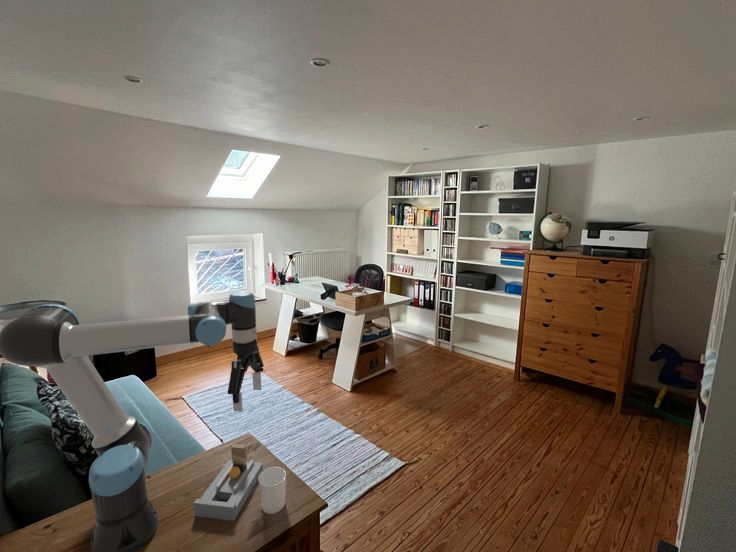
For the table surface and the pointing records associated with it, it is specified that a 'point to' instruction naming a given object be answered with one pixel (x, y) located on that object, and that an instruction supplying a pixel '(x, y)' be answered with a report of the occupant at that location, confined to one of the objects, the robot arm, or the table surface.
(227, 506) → the board
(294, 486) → the table surface
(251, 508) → the table surface
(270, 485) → the white cup
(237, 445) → the tan block
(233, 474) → the ball
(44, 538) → the table surface
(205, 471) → the table surface
